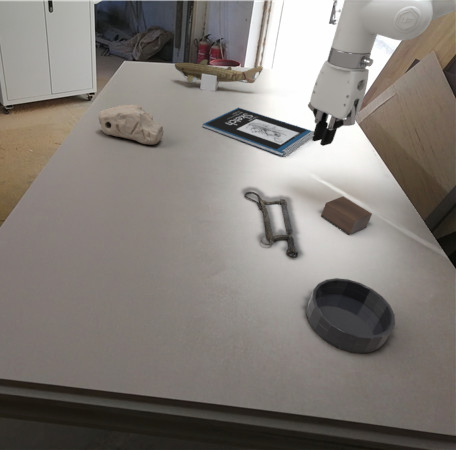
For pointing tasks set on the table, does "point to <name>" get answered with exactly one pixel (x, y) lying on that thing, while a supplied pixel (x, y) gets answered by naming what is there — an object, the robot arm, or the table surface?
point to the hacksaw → (292, 248)
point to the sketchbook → (260, 131)
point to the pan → (350, 315)
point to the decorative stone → (130, 124)
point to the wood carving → (214, 74)
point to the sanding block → (346, 215)
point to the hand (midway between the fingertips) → (321, 141)
